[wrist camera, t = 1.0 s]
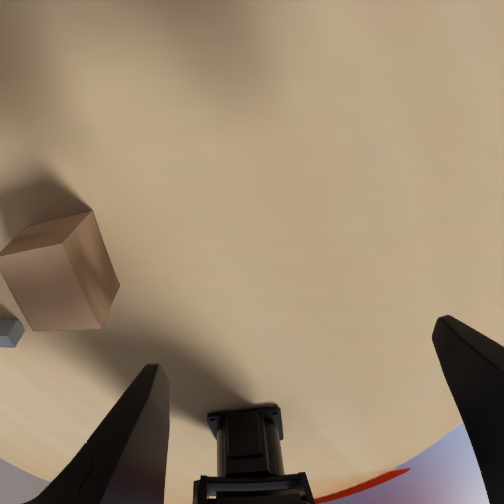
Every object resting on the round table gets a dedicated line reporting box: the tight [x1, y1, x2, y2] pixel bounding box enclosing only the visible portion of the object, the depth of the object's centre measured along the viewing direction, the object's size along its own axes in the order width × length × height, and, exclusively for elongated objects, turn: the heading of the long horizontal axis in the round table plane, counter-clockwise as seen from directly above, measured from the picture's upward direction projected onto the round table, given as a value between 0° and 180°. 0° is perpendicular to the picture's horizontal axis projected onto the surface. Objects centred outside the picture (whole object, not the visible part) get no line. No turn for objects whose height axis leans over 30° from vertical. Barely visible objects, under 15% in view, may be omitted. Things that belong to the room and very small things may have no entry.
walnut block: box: [0, 210, 120, 331], centre depth 15 cm, size 5×5×4 cm
